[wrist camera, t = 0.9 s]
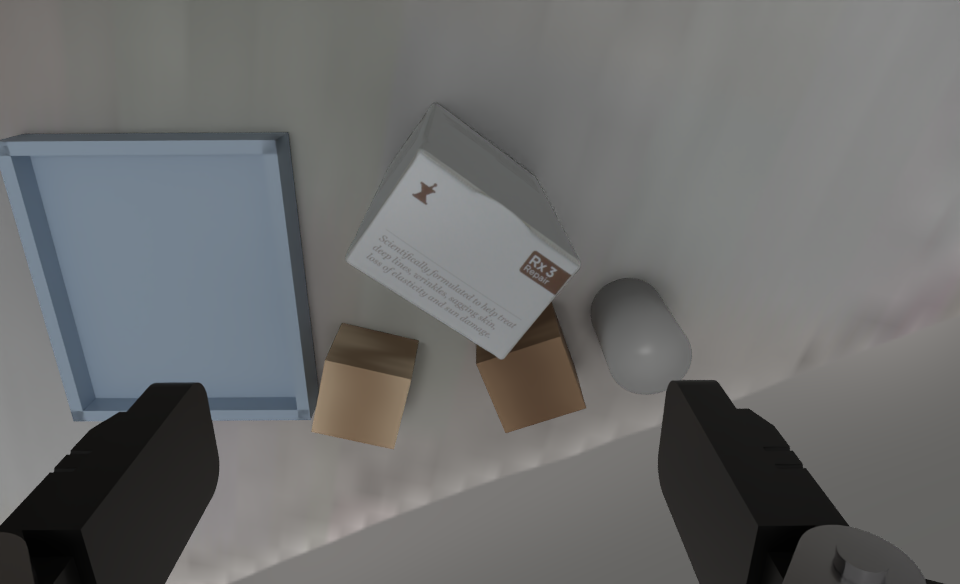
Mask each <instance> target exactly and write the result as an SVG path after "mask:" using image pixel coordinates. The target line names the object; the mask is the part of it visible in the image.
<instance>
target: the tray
mask: <svg viewBox="0 0 960 584" xmlns="http://www.w3.org/2000/svg"><path fill="white" fill-rule="evenodd" d="M0 170H1V173H2V177H3V180H4V183H5V187H6V190H7V194H8V197H9V201H10V204H11V207H12V211H13V214H14V218H15V221H16V225H17V228H18V231H19V235H20V238H21V242H22V245H23V249H24V252H25V255H26V259H27V262H28V266H29V269H30V273H31V276H32V279H33V283H34V286H35V290H36V293H37V297H38V300H39V303H40V307H41V310H42V314H43V317H44V321H45V324H46V327H47V331H48V334H49V338H50V341H51V345H52V348H53V352H54V355H55V358H56V362H57V365H58V369H59V372H60V376H61V379H62V382H63V386H64V389H65V393H66V396H67V400H68V403H69V406H70V410H71V413H72V417H73V420H74V421H105V420H107V419H108V418H110V417H112V416H113V415H115V414H117V413H118V412H127V411H128V409H129V408H130V407H131V406H132V405H133V404H134V403H135V402H136V400H137V399H138V398H139V397H140V396H141V395H142V394H143V392H144V391H145V390H146V389H147V388H148V387H149V386H150V385H151V384H153V383H164V382H199V383H201V384H202V385H203V386H204V388H205V390H206V392H207V396H208V402H209V407H210V413H211V418H212V420H311V418H312V415H313V413H314V411H315V408H316V405H317V400H318V395H319V390H318V382H317V373H316V365H315V356H314V348H313V339H312V331H311V322H310V314H309V305H308V297H307V288H306V280H305V271H304V263H303V254H302V246H301V237H300V229H299V220H298V212H297V203H296V195H295V186H294V178H293V169H292V161H291V152H290V144H289V135H288V132H272V133H117V134H21V135H17V136H13V137H9V138H5V139H1V140H0Z"/></svg>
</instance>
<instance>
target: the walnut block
mask: <svg viewBox="0 0 960 584" xmlns="http://www.w3.org/2000/svg"><path fill="white" fill-rule="evenodd" d="M476 364H477V367H478V369H479V371H480V374H481V376H482V378H483V381H484V383H485V386H486V388H487V390H488V393H489V395H490V397H491V400H492V402H493V404H494V407H495V409H496V411H497V414H498V416H499V419H500V421H501V423H502V426H503V428H504V430H505V433H508V432H511V431H514V430H517V429H521V428H524V427H527V426H530V425H534V424H537V423H540V422H543V421H546V420H550V419H553V418H556V417H559V416H562V415H566V414H569V413H572V412H575V411H579V410H582V409H585V408H586V406H585V402H584V399H583V395H582V391H581V388H580V384H579V380H578V377H577V373H576V370H575V366H574V363H573V361H572V358H571V355H570V352H569V350H568V347H567V344H566V341H565V338H564V336H563V333H562V330H561V327H560V325H559V322H558V319H557V316H556V313H555V311H554V308H553V305H552V302H551V303H550V304H549V305H548V306H547V307H546V309H545V310H544V311H543V312H542V313H541V315H540V316H539V317H538V318H537V319H536V321H535V322H534V323H533V324H532V325H531V327H530V328H529V329H528V330H527V332H526V333H525V334H524V335H523V336H522V338H521V339H520V340H519V341H518V342H517V344H516V345H515V346H514V347H513V349H512V350H511V351H510V352H509V353H508V355H507V356H506V357H505V358H504V359H502V360H501V359H499V358H497V357H496V356H495V355H493V354H492V353H490V352H488V351H487V350H485V349H484V348H482V347H480V346H479V345H477V344H476Z"/></svg>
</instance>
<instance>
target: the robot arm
mask: <svg viewBox="0 0 960 584" xmlns="http://www.w3.org/2000/svg"><path fill="white" fill-rule="evenodd" d="M658 473H659V480H660V485H661V489H662V492H663V495H664V498H665V500H666V502H667V505H668V507H669V510H670V512H671V514H672V517H673V519H674V522H675V525H676V527H677V529H678V532H679V534H680V537H681V539H682V542H683V544H684V547H685V549H686V552H687V554H688V557H689V559H690V561H691V564H692V566H693V569H694V571H695V574H696V576H697V578H698V581H699V584H943V583H939V582H935V581H931V580H927V579H925V578H924V576H923V574H922V572H921V570H920V569H919V568H918V566H917V565H916V564H915V562H914V561H913V560H911V559H910V557H908V556H907V555H906V554H905V553H904V552H903V551H901V550H900V549H899V548H897V547H896V546H894V545H893V544H891V543H890V542H888V541H886V540H884V539H883V538H881V537H879V536H876V535H874V534H872V533H870V532H867V531H864V530H861V529H858V528H853V527H850V526H849V525H848V524H847V522H846V521H845V520H844V518H843V517H842V516H841V514H840V513H839V512H838V511H837V509H836V508H835V506H834V505H833V504H832V502H831V501H830V500H829V498H828V497H827V496H826V494H825V493H824V492H823V491H822V489H821V488H820V486H819V485H818V484H817V482H816V481H815V480H814V478H813V477H812V476H811V474H810V473H809V472H808V471H807V469H806V468H803V465H802V462H801V461H800V460H799V458H798V457H797V456H796V455H795V453H794V452H793V451H790V447H789V445H788V444H787V442H786V441H785V440H784V439H783V437H782V436H781V435H780V433H779V432H778V430H777V429H776V428H775V426H773V425H772V424H770V423H769V422H767V421H766V420H765V419H763V418H762V417H760V416H759V415H757V414H756V413H754V412H753V411H752V410H750V409H736V408H735V406H734V405H733V403H732V402H731V400H730V399H729V397H728V396H727V394H726V393H725V391H724V390H723V389H722V387H721V386H720V384H719V383H718V382H717V381H715V380H672V381H671V382H670V383H669V384H668V387H667V391H666V398H665V406H664V414H663V422H662V429H661V438H660V445H659V454H658ZM218 476H219V456H218V450H217V445H216V440H215V434H214V429H213V423H212V418H211V413H210V407H209V402H208V396H207V392H206V390H205V388H204V386H203V385H202V384H201V383H199V382H164V383H153V384H151V385H150V386H149V387H148V388H147V389H146V390H145V391H144V392H143V394H142V395H141V396H140V397H139V398H138V399H137V400H136V402H135V403H134V404H133V405H132V406H131V407H130V408H129V409H128V411H127V412H118V413H117V414H115V415H113V416H112V417H110V418H108V419H107V420H105V421H104V422H102V423H100V424H99V425H97V426H95V427H94V428H92V429H90V430H89V431H88V433H87V434H86V435H85V436H84V437H83V438H82V439H81V440H80V441H79V442H78V443H77V444H76V445H75V446H74V447H73V449H72V450H71V454H70V455H66V456H65V457H64V458H63V459H62V460H61V461H60V462H59V464H58V465H57V466H56V467H55V468H54V473H49V474H48V475H47V476H46V477H45V478H44V480H43V481H42V482H41V483H40V484H39V485H38V486H37V487H36V488H35V489H34V490H33V491H32V492H31V493H30V494H29V496H28V497H27V498H26V499H25V500H24V501H23V502H22V503H21V504H20V505H19V506H18V507H17V508H16V509H15V510H14V512H13V513H12V514H11V515H10V516H9V517H8V518H7V519H6V520H5V521H4V522H3V523H2V524H1V525H0V584H165V582H166V581H167V579H168V577H169V575H170V573H171V571H172V570H173V568H174V566H175V564H176V562H177V561H178V559H179V557H180V555H181V553H182V551H183V550H184V548H185V546H186V544H187V542H188V540H189V539H190V537H191V535H192V533H193V531H194V529H195V528H196V526H197V524H198V522H199V520H200V518H201V517H202V515H203V513H204V511H205V509H206V507H207V506H208V504H209V502H210V500H211V498H212V496H213V494H214V492H215V489H216V486H217V482H218Z"/></svg>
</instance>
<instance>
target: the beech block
mask: <svg viewBox="0 0 960 584" xmlns="http://www.w3.org/2000/svg"><path fill="white" fill-rule="evenodd" d="M418 342H419V341H418V340H414V339H410V338H405V337H401V336H397V335H392V334H388V333H384V332H379V331H375V330H371V329H366V328H362V327H358V326H353V325H349V324H345V323H342V324H341V326H340V328H339V331H338V333H337V335H336V337H335V340H334V342H333V344H332V346H331V348H330V351H329V353H328V355H327V357H326V359H325V364H324V369H323V374H322V379H321V384H320V390H319V395H318V400H317V405H316V410H315V416H314V421H313V426H312V431H311V432H315V433H320V434H324V435H329V436H334V437H338V438H343V439H348V440H352V441H357V442H362V443H367V444H371V445H376V446H381V447H385V448H390V449H394V446H395V442H396V438H397V434H398V430H399V426H400V423H401V419H402V415H403V411H404V407H405V403H406V399H407V395H408V391H409V387H410V383H411V379H412V374H413V368H414V363H415V358H416V353H417V347H418Z"/></svg>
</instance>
